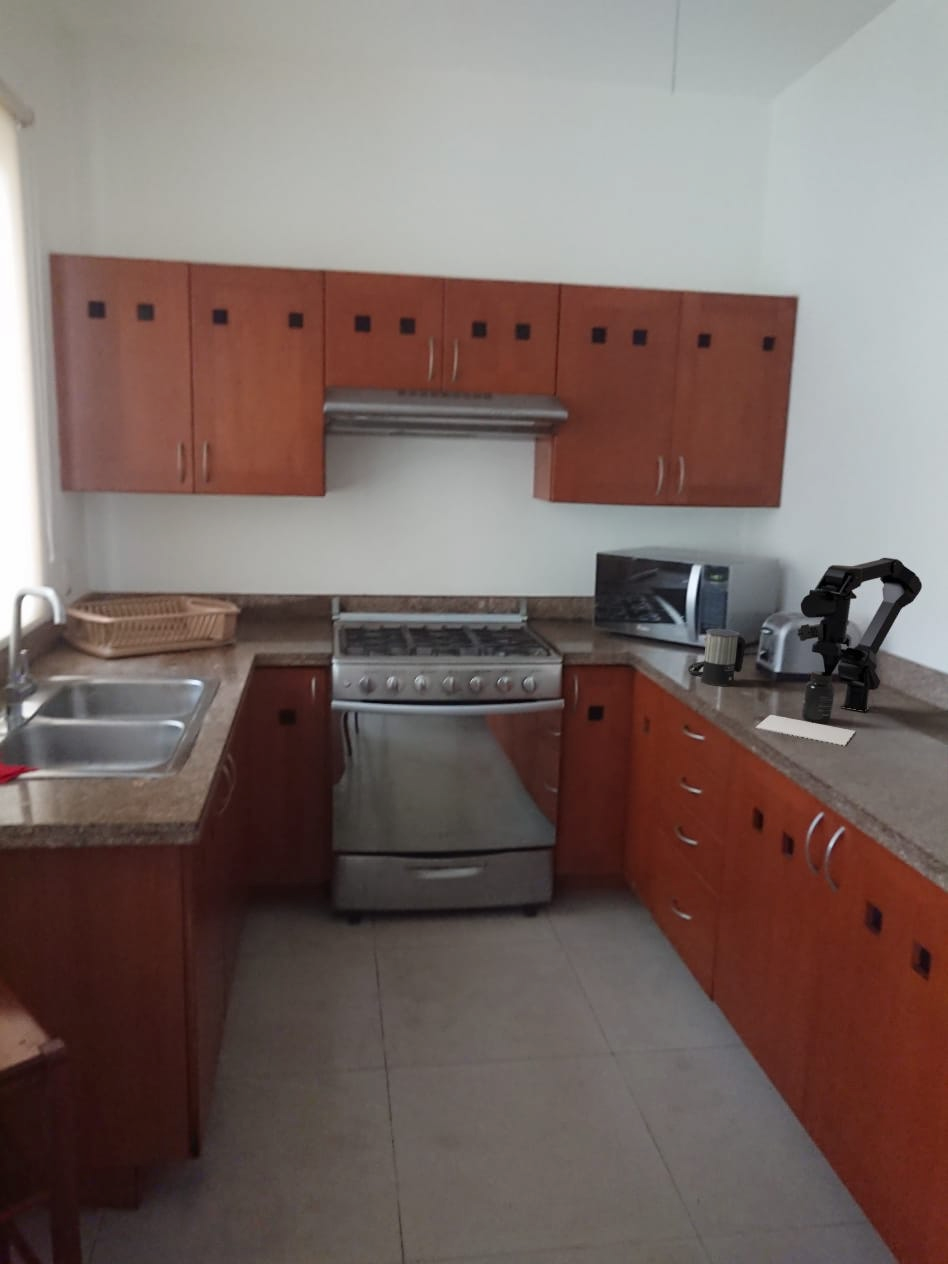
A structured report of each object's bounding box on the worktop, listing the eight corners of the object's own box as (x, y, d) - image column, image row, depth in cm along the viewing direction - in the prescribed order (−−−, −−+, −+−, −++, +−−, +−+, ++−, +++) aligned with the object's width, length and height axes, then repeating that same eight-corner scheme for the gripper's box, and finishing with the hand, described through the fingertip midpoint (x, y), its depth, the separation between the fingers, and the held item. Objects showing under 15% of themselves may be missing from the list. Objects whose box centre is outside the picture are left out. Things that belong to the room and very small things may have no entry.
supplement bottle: (795, 716, 230) (801, 670, 227) (817, 715, 232) (823, 669, 230) (814, 724, 223) (820, 676, 221) (836, 723, 226) (843, 676, 223)
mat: (770, 715, 229) (770, 714, 229) (855, 732, 219) (855, 731, 219) (755, 728, 217) (755, 727, 217) (844, 746, 207) (844, 744, 207)
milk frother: (725, 688, 255) (732, 636, 252) (673, 677, 264) (679, 627, 261) (745, 680, 266) (751, 630, 263) (694, 670, 275) (699, 621, 272)
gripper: (810, 607, 242) (803, 665, 245) (794, 616, 227) (786, 677, 230) (855, 613, 237) (847, 672, 240) (842, 622, 221) (833, 685, 224)
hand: (827, 676), depth 233 cm, fingers closed
